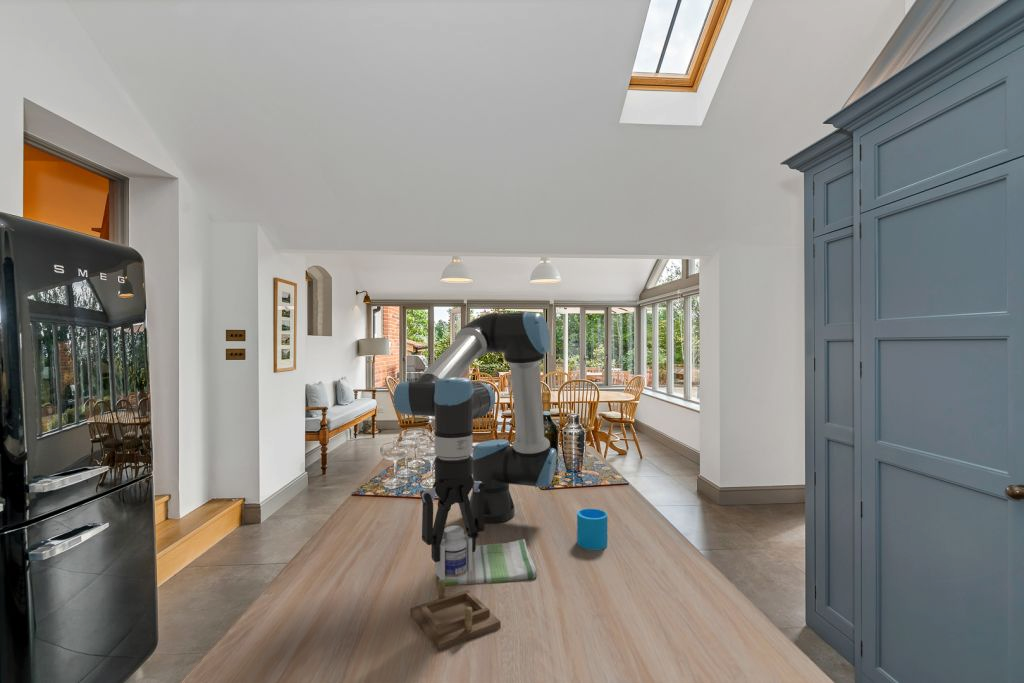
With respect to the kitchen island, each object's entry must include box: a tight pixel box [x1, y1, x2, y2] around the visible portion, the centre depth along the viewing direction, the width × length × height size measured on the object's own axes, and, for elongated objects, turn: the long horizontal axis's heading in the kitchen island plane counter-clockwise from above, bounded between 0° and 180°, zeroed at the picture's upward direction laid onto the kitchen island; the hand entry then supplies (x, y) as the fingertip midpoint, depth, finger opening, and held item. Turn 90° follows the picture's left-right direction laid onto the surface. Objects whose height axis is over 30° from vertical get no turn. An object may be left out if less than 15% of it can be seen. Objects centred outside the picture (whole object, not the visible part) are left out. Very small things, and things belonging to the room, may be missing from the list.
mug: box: [576, 508, 608, 551], centre depth 135 cm, size 12×8×8 cm
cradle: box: [409, 580, 502, 652], centre depth 97 cm, size 14×13×5 cm
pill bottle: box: [441, 525, 467, 579], centre depth 97 cm, size 5×5×9 cm
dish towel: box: [438, 538, 538, 585], centre depth 120 cm, size 17×23×4 cm
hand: (454, 572), depth 97 cm, fingers closed on pill bottle, 5 cm apart
